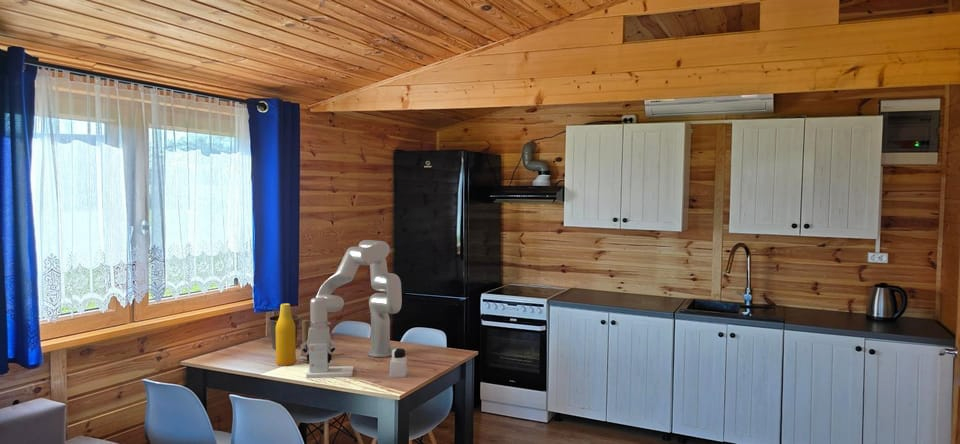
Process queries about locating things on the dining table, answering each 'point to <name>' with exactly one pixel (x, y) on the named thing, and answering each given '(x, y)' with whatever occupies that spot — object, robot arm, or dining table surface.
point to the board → (332, 372)
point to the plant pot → (273, 323)
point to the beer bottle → (285, 337)
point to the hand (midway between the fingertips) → (319, 362)
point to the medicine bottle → (398, 363)
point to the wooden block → (304, 335)
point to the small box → (318, 358)
